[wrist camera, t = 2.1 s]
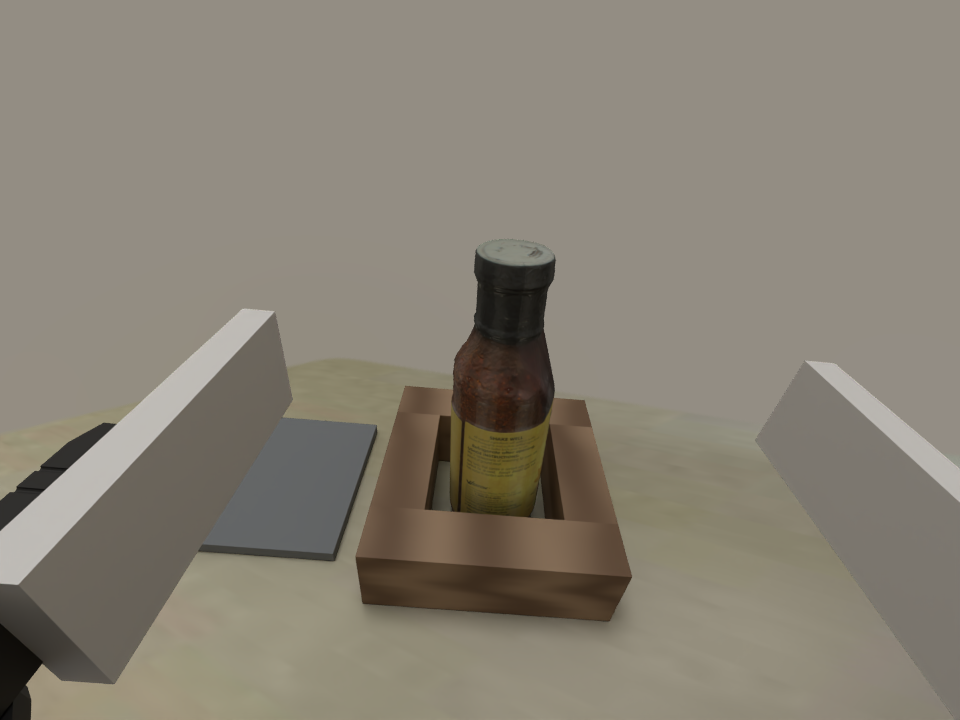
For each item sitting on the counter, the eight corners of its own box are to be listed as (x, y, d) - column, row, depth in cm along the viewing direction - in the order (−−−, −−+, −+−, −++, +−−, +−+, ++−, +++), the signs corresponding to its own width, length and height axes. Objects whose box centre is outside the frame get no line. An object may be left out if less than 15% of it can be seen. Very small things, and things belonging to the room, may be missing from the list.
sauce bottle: (548, 517, 32) (617, 263, 20) (483, 564, 28) (524, 290, 17) (492, 462, 36) (524, 225, 24) (429, 497, 32) (433, 241, 21)
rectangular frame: (572, 443, 38) (584, 400, 35) (609, 621, 26) (632, 576, 23) (406, 430, 38) (405, 385, 35) (362, 603, 26) (355, 556, 23)
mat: (377, 431, 38) (376, 425, 37) (334, 560, 28) (332, 553, 27) (240, 420, 37) (238, 414, 37) (148, 547, 27) (143, 539, 27)
